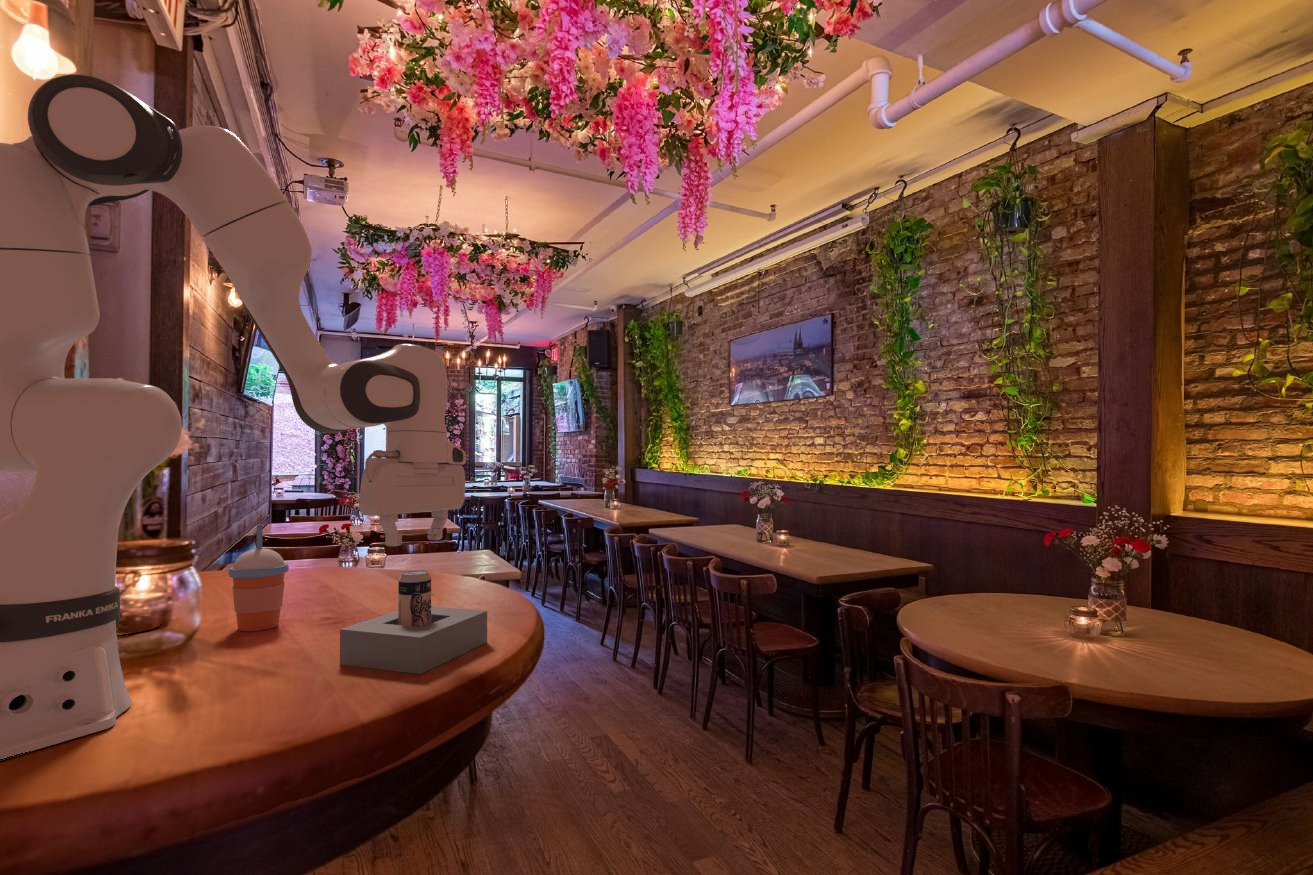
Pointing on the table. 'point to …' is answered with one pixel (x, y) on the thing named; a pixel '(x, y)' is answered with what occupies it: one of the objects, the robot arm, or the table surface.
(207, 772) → the table surface
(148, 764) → the table surface
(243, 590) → the cup with straw
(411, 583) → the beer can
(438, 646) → the holder block
